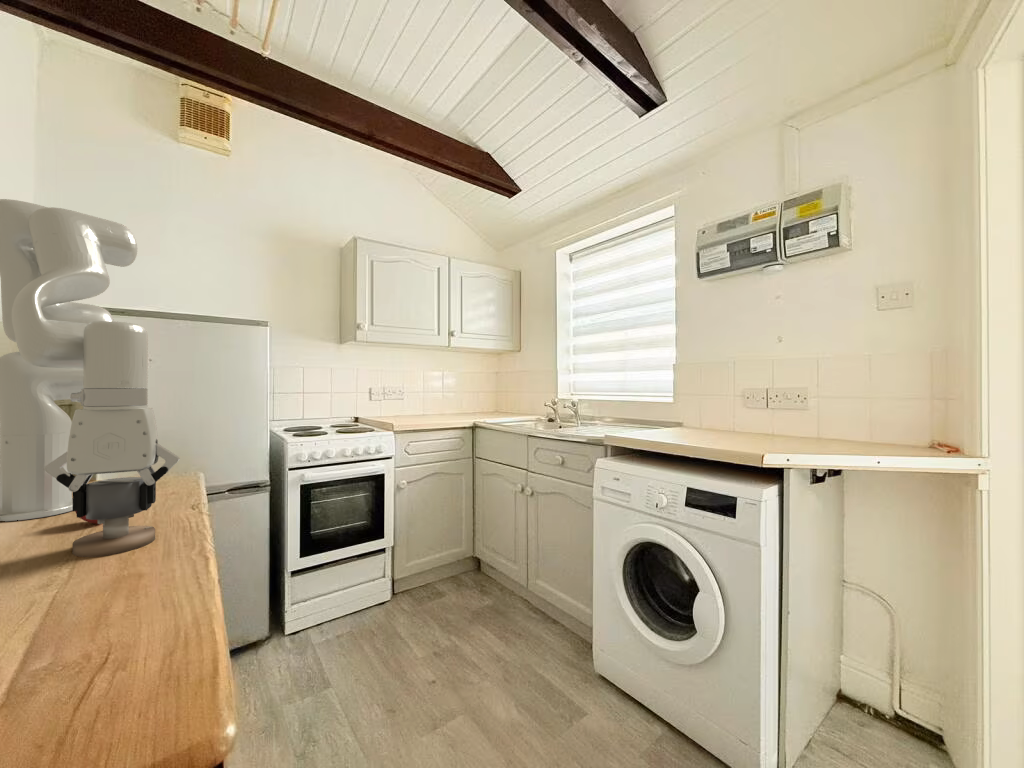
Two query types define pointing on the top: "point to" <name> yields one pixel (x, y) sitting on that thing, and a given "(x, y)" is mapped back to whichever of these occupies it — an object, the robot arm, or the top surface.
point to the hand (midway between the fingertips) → (115, 510)
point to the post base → (114, 538)
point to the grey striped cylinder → (113, 498)
